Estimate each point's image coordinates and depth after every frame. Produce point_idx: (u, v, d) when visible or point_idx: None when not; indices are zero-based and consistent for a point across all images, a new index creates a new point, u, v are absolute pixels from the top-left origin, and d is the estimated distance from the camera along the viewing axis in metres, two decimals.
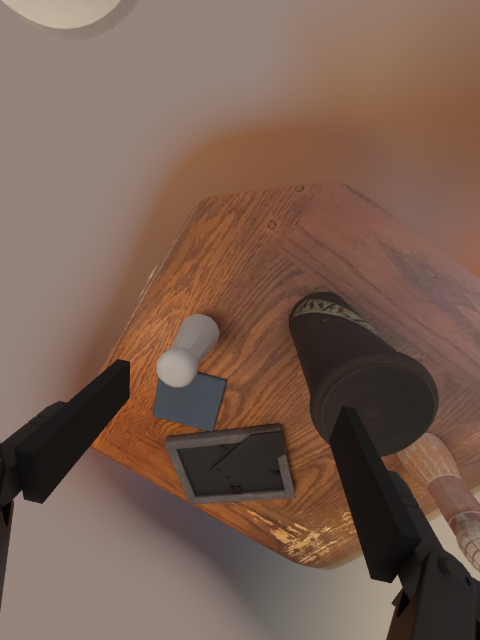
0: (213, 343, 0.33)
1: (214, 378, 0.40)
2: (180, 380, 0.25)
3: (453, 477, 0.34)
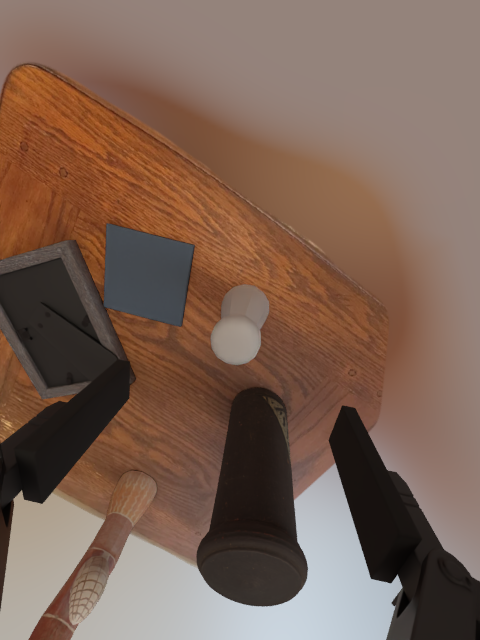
0: None
1: (182, 313, 0.33)
2: (224, 353, 0.20)
3: (131, 527, 0.39)
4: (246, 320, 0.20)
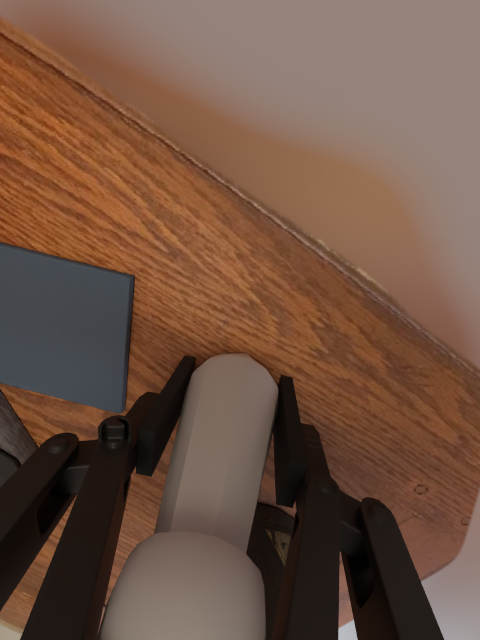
0: None
1: (122, 393, 0.18)
2: None
3: None
4: (214, 602, 0.05)
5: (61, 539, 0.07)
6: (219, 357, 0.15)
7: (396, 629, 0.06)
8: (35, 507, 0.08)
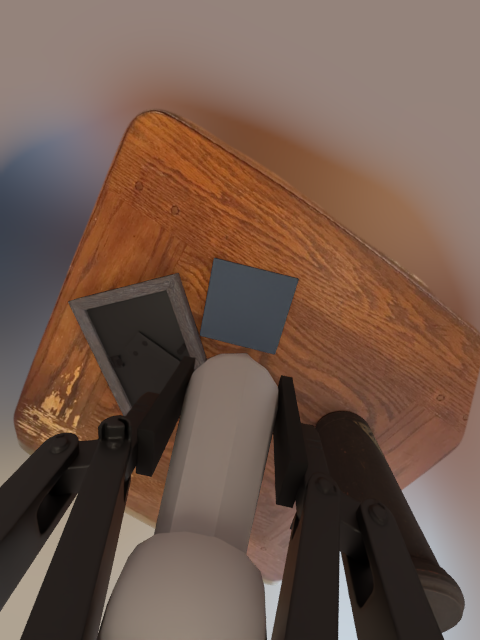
0: None
1: (278, 342, 0.34)
2: None
3: None
4: (215, 603, 0.05)
5: (61, 539, 0.07)
6: (219, 357, 0.15)
7: (396, 629, 0.06)
8: (35, 507, 0.08)
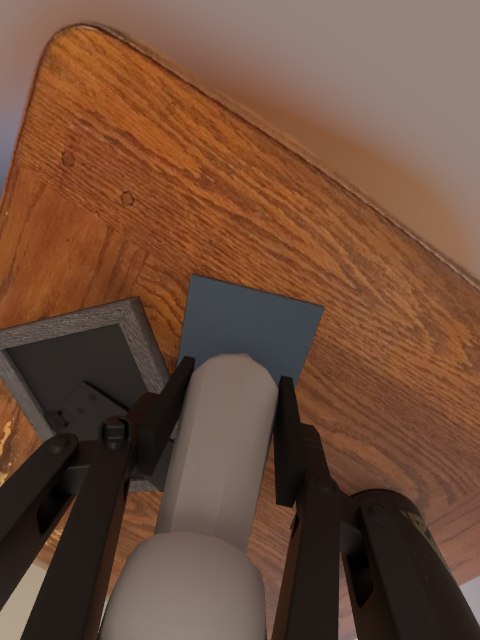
0: None
1: None
2: None
3: None
4: (215, 603, 0.05)
5: (61, 539, 0.07)
6: (219, 357, 0.15)
7: (396, 629, 0.06)
8: (35, 507, 0.08)
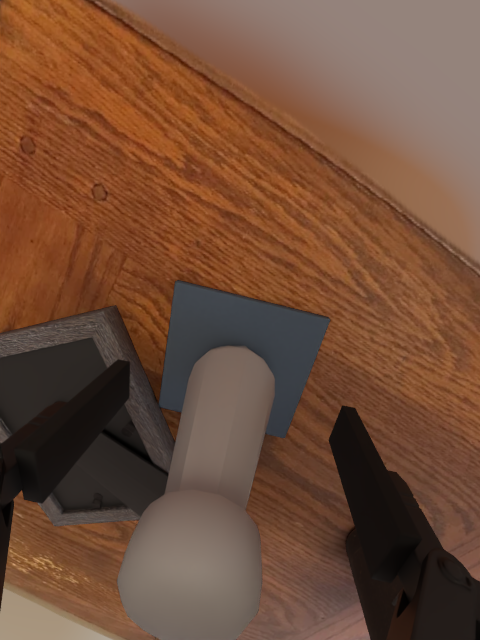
0: None
1: (290, 420, 0.20)
2: (156, 633, 0.07)
3: None
4: (218, 541, 0.07)
5: None
6: (219, 348, 0.16)
7: None
8: None
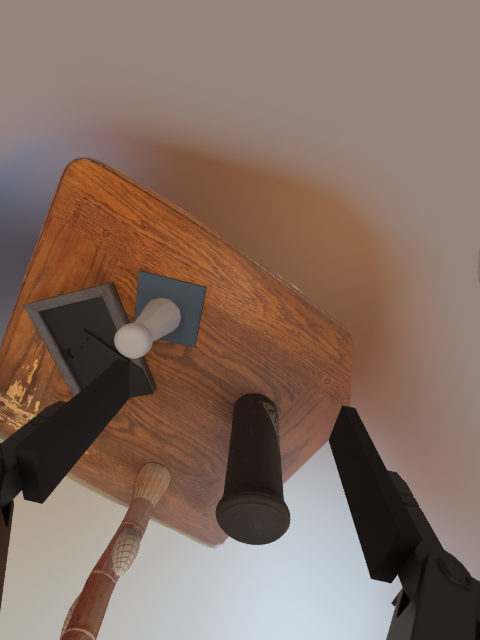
0: None
1: (196, 337, 0.42)
2: (123, 350, 0.29)
3: (153, 508, 0.48)
4: (137, 327, 0.29)
5: None
6: None
7: None
8: None
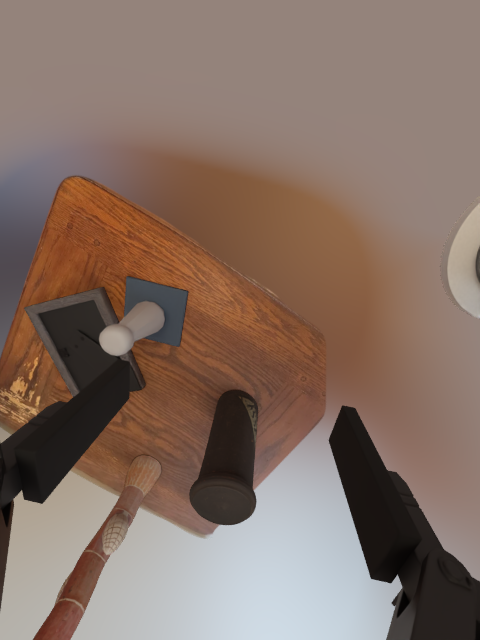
0: None
1: (180, 337, 0.46)
2: (106, 348, 0.32)
3: (142, 496, 0.52)
4: (119, 328, 0.32)
5: None
6: (141, 302, 0.41)
7: None
8: None
